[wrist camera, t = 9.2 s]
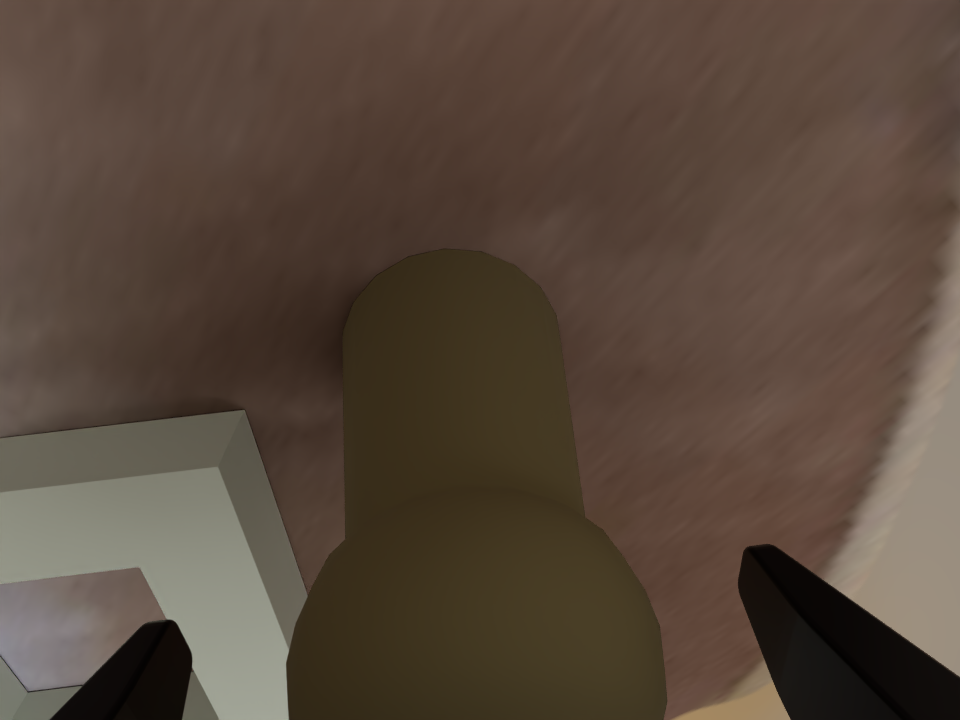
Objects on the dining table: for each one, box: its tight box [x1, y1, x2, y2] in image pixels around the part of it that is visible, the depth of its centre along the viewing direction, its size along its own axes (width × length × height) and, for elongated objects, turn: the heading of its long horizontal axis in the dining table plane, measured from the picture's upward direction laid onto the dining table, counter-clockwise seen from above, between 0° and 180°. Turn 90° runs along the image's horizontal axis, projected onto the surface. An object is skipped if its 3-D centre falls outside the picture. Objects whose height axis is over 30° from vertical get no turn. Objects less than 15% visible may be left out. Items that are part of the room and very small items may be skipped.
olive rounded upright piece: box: [286, 249, 667, 720], centre depth 12 cm, size 6×6×11 cm
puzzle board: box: [0, 410, 308, 720], centre depth 21 cm, size 20×14×2 cm
